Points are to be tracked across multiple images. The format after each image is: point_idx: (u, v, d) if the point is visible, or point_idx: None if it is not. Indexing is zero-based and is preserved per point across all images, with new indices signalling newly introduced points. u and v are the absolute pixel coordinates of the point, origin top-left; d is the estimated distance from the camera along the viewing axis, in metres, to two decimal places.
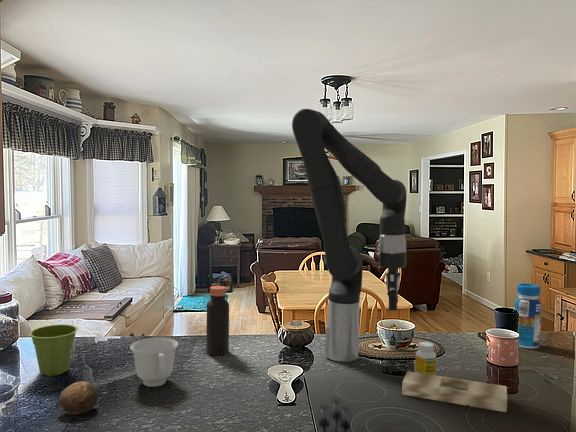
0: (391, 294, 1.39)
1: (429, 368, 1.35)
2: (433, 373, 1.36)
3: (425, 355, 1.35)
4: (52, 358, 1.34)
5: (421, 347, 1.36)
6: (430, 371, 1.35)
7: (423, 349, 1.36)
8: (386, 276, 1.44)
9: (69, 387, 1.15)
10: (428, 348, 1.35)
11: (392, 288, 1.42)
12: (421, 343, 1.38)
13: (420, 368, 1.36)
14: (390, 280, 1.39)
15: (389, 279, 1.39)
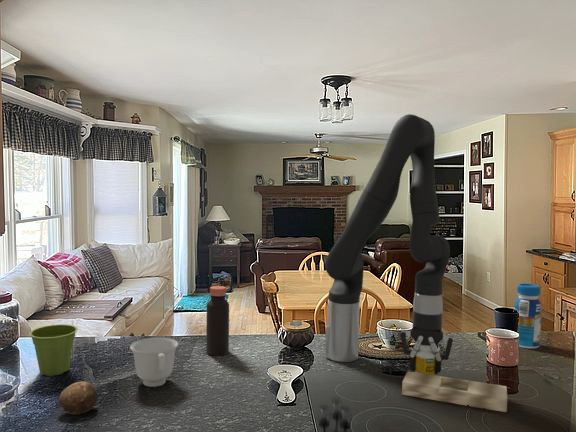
0: None
1: (429, 368, 1.35)
2: (433, 373, 1.36)
3: (425, 355, 1.35)
4: (52, 358, 1.34)
5: (421, 347, 1.36)
6: (430, 371, 1.35)
7: (423, 349, 1.36)
8: (433, 339, 1.35)
9: (69, 387, 1.15)
10: (428, 348, 1.35)
11: None
12: None
13: (420, 368, 1.36)
14: (451, 344, 1.35)
15: None
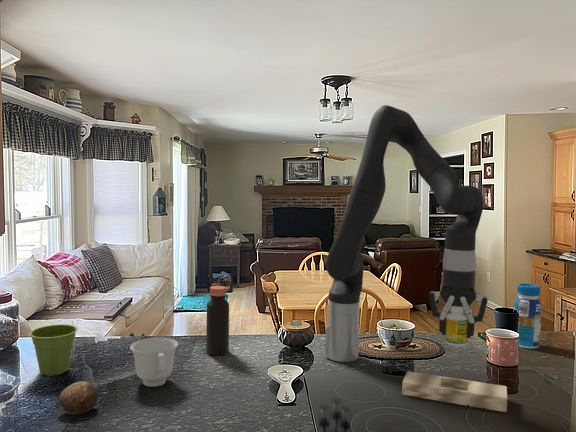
0: None
1: (461, 330, 1.23)
2: (465, 337, 1.24)
3: (457, 317, 1.23)
4: (52, 358, 1.34)
5: (452, 308, 1.24)
6: (462, 334, 1.23)
7: (455, 310, 1.24)
8: (465, 299, 1.23)
9: (69, 387, 1.15)
10: (460, 309, 1.23)
11: None
12: None
13: (451, 331, 1.24)
14: None
15: (486, 303, 1.22)
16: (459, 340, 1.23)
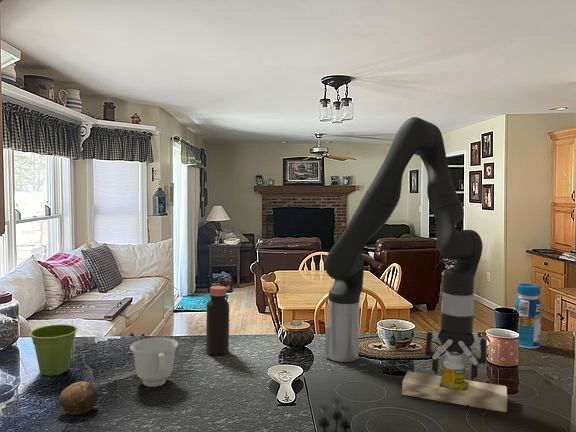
0: (485, 360, 1.23)
1: (458, 379, 1.24)
2: (462, 385, 1.25)
3: (453, 366, 1.24)
4: (52, 358, 1.34)
5: (449, 357, 1.25)
6: (459, 383, 1.24)
7: (451, 359, 1.25)
8: (464, 343, 1.23)
9: (69, 387, 1.15)
10: (456, 358, 1.24)
11: None
12: (448, 352, 1.27)
13: (448, 380, 1.25)
14: (485, 345, 1.23)
15: (485, 344, 1.23)
16: None
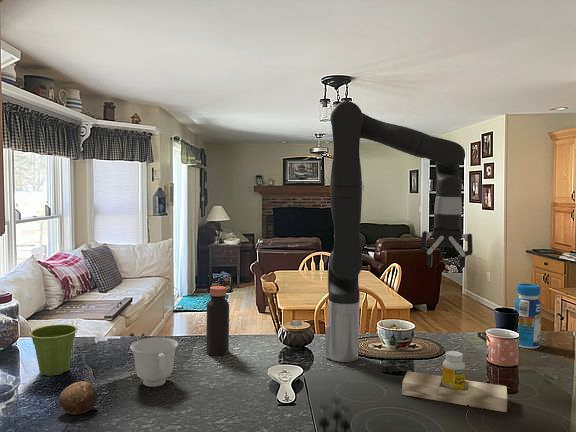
0: (471, 252, 1.46)
1: (458, 379, 1.24)
2: (462, 385, 1.25)
3: (454, 366, 1.24)
4: (52, 358, 1.34)
5: (449, 357, 1.25)
6: (459, 383, 1.24)
7: (452, 359, 1.24)
8: (453, 238, 1.46)
9: (69, 387, 1.15)
10: (457, 358, 1.24)
11: None
12: (449, 352, 1.27)
13: (448, 380, 1.25)
14: (471, 239, 1.45)
15: None
16: (456, 389, 1.24)
